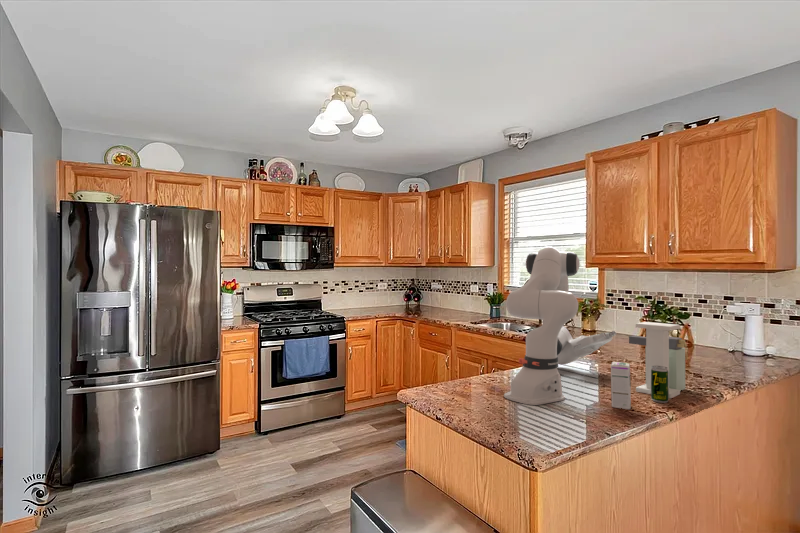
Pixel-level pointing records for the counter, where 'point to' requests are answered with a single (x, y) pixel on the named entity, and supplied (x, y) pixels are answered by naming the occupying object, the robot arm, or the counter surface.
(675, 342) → the grey boxy piece
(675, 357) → the socket block
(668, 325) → the tall shelf
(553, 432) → the counter surface
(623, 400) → the syrup box
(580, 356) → the robot arm
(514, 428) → the counter surface
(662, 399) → the beer can
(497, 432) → the counter surface
